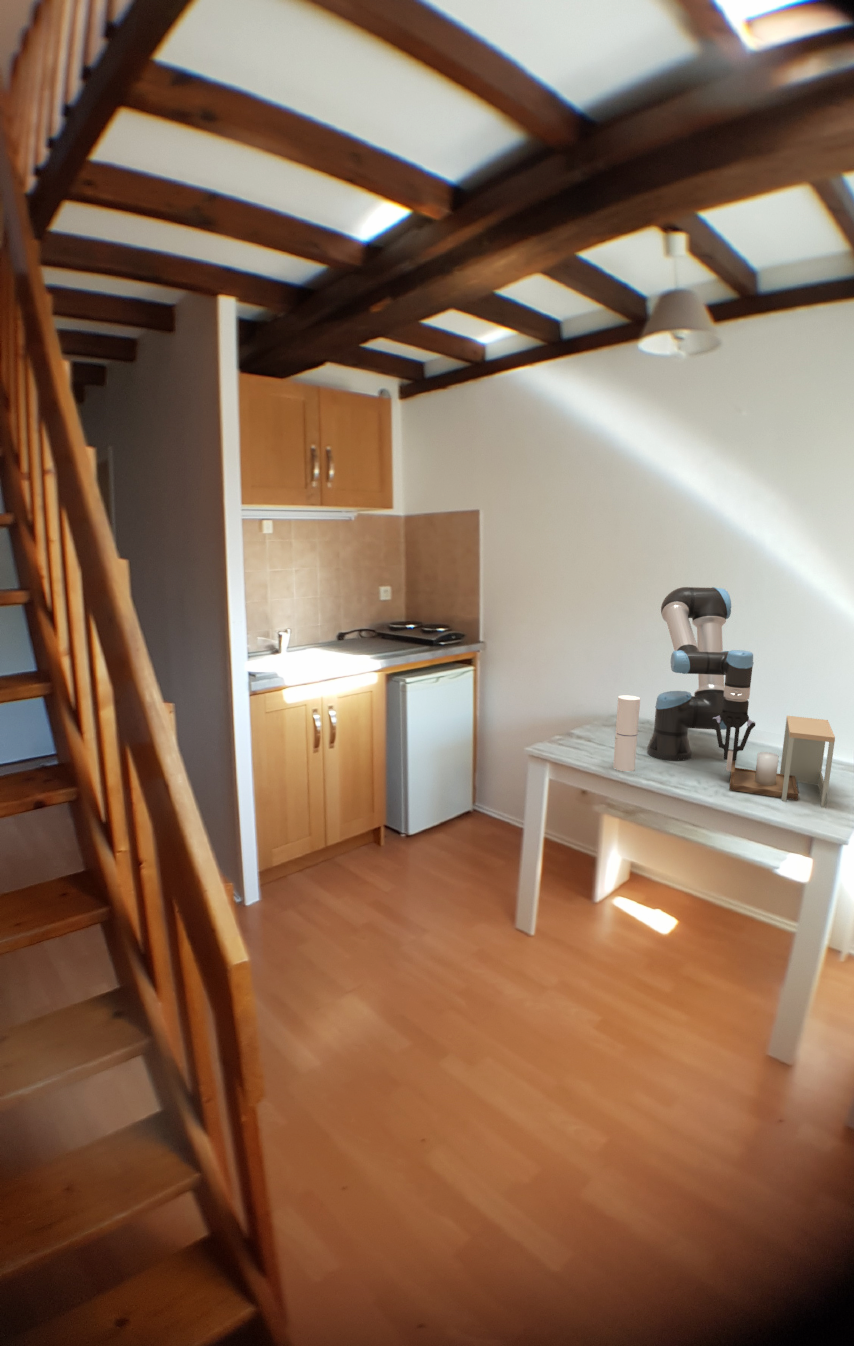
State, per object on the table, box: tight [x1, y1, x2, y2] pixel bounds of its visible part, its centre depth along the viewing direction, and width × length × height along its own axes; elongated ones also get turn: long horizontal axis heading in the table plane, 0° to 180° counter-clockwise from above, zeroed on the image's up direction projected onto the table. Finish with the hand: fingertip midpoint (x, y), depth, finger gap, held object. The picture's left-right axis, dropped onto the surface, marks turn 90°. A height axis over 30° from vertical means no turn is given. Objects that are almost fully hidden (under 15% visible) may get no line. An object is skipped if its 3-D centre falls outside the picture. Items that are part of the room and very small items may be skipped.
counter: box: [779, 715, 836, 809], centre depth 210 cm, size 12×22×22 cm, turn 154°
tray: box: [728, 760, 799, 801], centre depth 215 cm, size 19×19×6 cm
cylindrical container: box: [612, 694, 641, 772], centre depth 229 cm, size 7×7×25 cm
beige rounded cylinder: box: [755, 751, 779, 786], centre depth 214 cm, size 6×6×9 cm
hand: (728, 769), depth 219 cm, fingers closed
